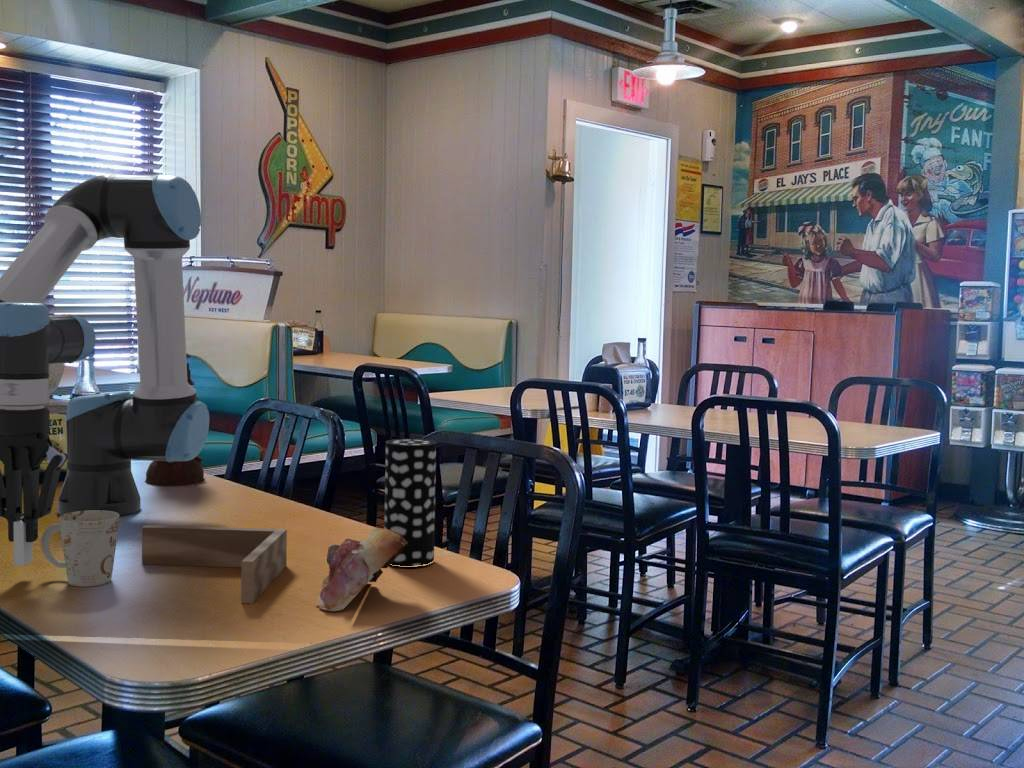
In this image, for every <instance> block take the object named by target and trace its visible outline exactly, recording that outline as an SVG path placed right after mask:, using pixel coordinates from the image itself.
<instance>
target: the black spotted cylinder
mask: <svg viewBox="0 0 1024 768" xmlns="http://www.w3.org/2000/svg"><path fill="white" fill-rule="evenodd" d="M384 457H385V462H384V463H385V465H384V466H385V471H384V472H385V473H384V520H383V522H384V525H383V526H384V527H383V529H389V530H392V531H395V532H397V533H399V534H400V535H401V536H402V537H403V538H404V539H405V540H406V541H407V542H408V544H407V546H406V547H405V548H404V550H403V551H402V552H401V553H400V555H399V556H398V557H397V558H396V559H395V560H394V561H393V562H392V563H391V564H392V565H400V566H415V565H423V564H428V563H430V562H432V561H433V560H434V561H435V531H436V530H435V528H436V527H435V526H436V524H435V523H436V521H435V520H436V519H435V517H436V485H437V484H436V482H437V481H436V480H437V478H436V477H437V475H436V474H437V473H436V472H437V471H436V470H437V469H436V468H437V442H436V440H435V441H434V440H431V439H423V438H395V439H390V440H389V439H388V440H386V441H385V456H384Z"/></svg>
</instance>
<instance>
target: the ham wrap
mask: <svg viewBox="0 0 1024 768" xmlns="http://www.w3.org/2000/svg"><path fill="white" fill-rule="evenodd" d="M407 544H408V542H407V541H406V540H405V539H404V538H403V537H402V536H401V535H400V534H399V533H397V532H395V531H392V530H389V529H384V527H383V528H381V527H379V528H374V529H371V531H370V535H369V537H368V538H367V539H362V540H360V541H359V540H355V539H351V538H346V539H345V540H344V541H343V542H342V543H341V544H333V545H330V546H328V548H327V554H326V556H327V557H326V562H327V564H328V568H329V570H328V571H329V572H328V576H326V577H325V578H324V579H323V581H322V584H321V585H322V587H321V588H322V589H321V591H320V594H319V595H318V596H317V599H318V600H319V602H320V604H315V606H317V607H318V608H319V609H320V610H323V611H329V612H337V611H338V612H339V611H342V610H344V609H345V608H346V607H347V606H348V605H349V604H350V603H351V602H352V600H353V599H354V598H356V596H357V595H358V594H359V593H360V592H361V591H362V590H363V589H365V587H366V586H367V585H368V583H377V580H378V579H379V578H380V577H381V576H382V574H383V573H384V572H383V570H382V569H387V568H389V565H390V564H391V563H392V562H393V561H394V560H395V559H396V558H397V557H398V556H399V555H400V553H401V552H402V551H403V550H404V548H405V547H406V546H407Z"/></svg>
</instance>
